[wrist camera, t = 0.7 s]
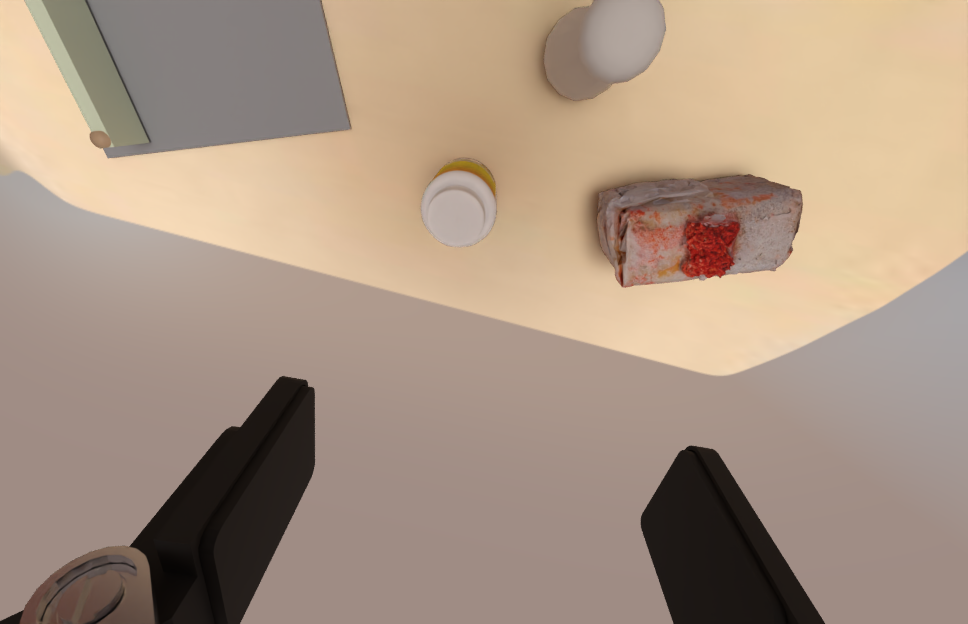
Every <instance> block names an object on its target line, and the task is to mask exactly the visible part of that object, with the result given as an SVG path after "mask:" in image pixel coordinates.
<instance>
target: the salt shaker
mask: <svg viewBox="0 0 968 624" xmlns="http://www.w3.org/2000/svg"><path fill="white" fill-rule="evenodd" d="M665 31H666V24H665V16H664V8H663V6H662V4H661V3H660V1H659V0H594V1H593V2H592V4H591V6H588V7H578V8H574V9H573V10H572V11H570V12H569V13H567V14H566V15H565V16H563V17H562V18H561V19H559V20H558V22H557V23H556V25H555V26H554V28H553V30H552V31H551V33H550V34H549V36H548V37H547V40H546V47H545V54H544V65H545V70H546V75H547V80H548V81H549V82H550V83H551V85H552V86H553V87H554V88H555V90H556V91H557V92H558V93H559V94H560V95H563V96H565V97H567V98H569V99H571V100H574V101H577V100H586V99H592V98H594V97H596V96H597V95H599V94H600V93H602V92H604V91H605V90H607V89H608V88H609V87H610V86H611V85H612V84H613V83H621V82H628V81H629V80H631V79H632V78H634V77H636V76H637V75H639V74H641V73H642V72H644V71H645V70H646V69H647V68H648V67H649V65H650V64H651V62H652V61H653V60H654V58H655V57H656V55H657V54H658V53H659V51H660V48H661V45H662V41H663V38H664V34H665Z"/></svg>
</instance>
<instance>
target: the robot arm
mask: <svg viewBox="0 0 968 624" xmlns="http://www.w3.org/2000/svg"><path fill="white" fill-rule="evenodd" d="M314 465H315V393H314V388H313V387H308V382H307V381H306V380H303V379H297V378H291V377H285V376H282V377H280V378H279V379H278V380H277V381H276V382H275V384H274V385H273V386H272V387H271V389H270V390H269V391H268V393H267V394H266V395H265V397H264V398H263V399H262V400H261V401H260V403H259V404H258V405H257V407H256V408H255V409H254V411H253V412H252V413H251V414H250V416H249V417H248V418H247V419H246V421H245V422H244V423H243V425H242V426H241V427H233V426H232V427H230V428H228V429H226V430H225V431H224V432H223V433H222V434H221V436H220V437H219V438H218V439H217V440H216V441H215V443H214V444H213V445H212V446H211V448H210V449H209V450H208V451H207V452H206V454H205V455H204V456H203V457H202V459H201V460H200V461H199V462H198V463H197V465H196V466H195V467H194V468H193V470H192V471H191V472H190V473H189V475H188V476H187V477H186V478H185V479H184V481H183V482H182V483H181V484H180V485H179V487H178V488H177V489H176V490H175V492H174V493H173V494H172V495H171V496H170V498H169V499H168V500H167V501H166V502H165V504H164V505H163V506H162V507H161V509H160V510H159V511H158V512H157V513H156V515H155V516H154V517H153V518H152V520H151V521H150V522H149V523H148V524H147V526H146V527H145V528H144V529H143V531H142V532H141V533H140V534H139V535H138V537H137V538H136V539H135V540H134V542H133V543H132V544H131V545H130V546H129V547H128V546H112V547H106V548H102V549H98V550H95V551H91V552H89V553H87V554H85V555H83V556H80V557H78V558H76V559H74V560H72V561H70V562H69V563H67V564H66V565H64V566H63V567H62V568H60V569H59V570H57V571H56V572H54V573H53V574H52V575H51V576H50V577H49V578H48V579H47V580H46V581H45V582H44V583H43V584H41V585H40V587H38V588H37V589H36V591H35V592H34V594H33V595H32V597H31V598H30V600H29V601H28V603H27V604H26V605H25V608H24V610H23V611H21V612H19V613H17V614H14V615H12V616H10V617H8V618H6V619H4V620H2V621H0V624H240V622H241V620H242V618H243V616H244V614H245V612H246V610H247V608H248V606H249V604H250V602H251V600H252V598H253V596H254V594H255V592H256V590H257V588H258V586H259V584H260V582H261V579H262V577H263V575H264V573H265V571H266V569H267V567H268V565H269V563H270V561H271V559H272V557H273V555H274V553H275V551H276V548H277V546H278V545H279V542H280V541H281V538H282V536H283V534H284V532H285V530H286V528H287V526H288V524H289V522H290V520H291V518H292V516H293V514H294V512H295V510H296V508H297V506H298V503H299V502H300V500H301V497H302V495H303V493H304V491H305V489H306V487H307V485H308V483H309V481H310V479H311V477H312V474H313V470H314ZM641 528H642V531H643V535H644V538H645V541H646V544H647V547H648V549H649V553H650V555H651V558H652V561H653V564H654V567H655V570H656V573H657V576H658V579H659V582H660V585H661V588H662V591H663V594H664V597H665V600H666V602H667V606H668V609H669V612H670V614H671V617H672V620H673V623H674V624H825V623H824V621H823V619H822V618H821V616H820V615H819V613H818V611H817V610H816V608H815V607H814V605H813V604H812V602H811V601H810V599H809V597H808V596H807V594H806V592H805V591H804V589H803V588H802V586H801V585H800V583H799V581H798V580H797V578H796V577H795V575H794V573H793V572H792V570H791V569H790V567H789V565H788V564H787V562H786V561H785V559H784V557H783V556H782V554H781V553H780V551H779V549H778V548H777V546H776V545H775V543H774V542H773V540H772V538H771V537H770V535H769V534H768V532H767V530H766V529H765V527H764V526H763V524H762V522H761V521H760V519H759V518H758V516H757V514H756V513H755V511H754V510H753V508H752V506H751V505H750V503H749V502H748V500H747V499H746V497H745V495H744V494H743V492H742V491H741V489H740V487H739V486H738V484H737V483H736V481H735V479H734V478H733V476H732V475H731V473H730V471H729V470H728V468H727V467H726V465H725V464H724V462H723V460H722V459H721V457H720V456H719V454H718V453H717V452H716V451H715V450H713V449H709V448H703V447H697V446H688V447H687V448H686V449H685V450H682V451H680V452H679V454H678V455H677V457H676V459H675V460H674V462H673V464H672V465H671V467H670V469H669V470H668V472H667V474H666V475H665V477H664V479H663V480H662V482H661V484H660V485H659V487H658V489H657V490H656V492H655V494H654V495H653V497H652V499H651V500H650V502H649V504H648V505H647V507H646V509H645V510H644V512H643V514H642V516H641Z"/></svg>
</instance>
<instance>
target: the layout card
mask: <svg viewBox="0 0 968 624" xmlns="http://www.w3.org/2000/svg"><path fill="white" fill-rule="evenodd" d="M85 2H86V4H87V6H88V8H89V10H90V13H91V15H92V17H93V19H94V21H95V24H96V26H97V28H98V30H99V32H100V35H101V37H102V39H103V41H104V43H105V46H106V48H107V50H108V52H109V54H110V57H111V59H112V61H113V63H114V65H115V68H116V70H117V72H118V74H119V76H120V79H121V81H122V83H123V85H124V87H125V90H126V92H127V94H128V96H129V98H130V101H131V103H132V105H133V107H134V109H135V112H136V114H137V116H138V118H139V120H140V123H141V125H142V127H143V129H144V131H145V134H146V136H147V138H148V140H149V142H150V143H144V144H135V145H126V146H118V147H109V148H103V149H104V151H105V153H106V155H107V157H108V158H113V157H122V156H130V155H139V154H147V153H155V152H164V151H172V150H180V149H189V148H197V147H206V146H214V145H222V144H231V143H239V142H247V141H256V140H264V139H273V138H281V137H289V136H298V135H306V134H314V133H323V132H331V131H340V130H348V129H351V125H350V121H349V117H348V113H347V108H346V104H345V100H344V96H343V92H342V87H341V83H340V79H339V75H338V70H337V66H336V62H335V58H334V54H333V49H332V45H331V41H330V37H329V32H328V28H327V24H326V20H325V16H324V11H323V7H322V3H321V0H85Z"/></svg>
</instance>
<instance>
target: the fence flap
mask: <svg viewBox="0 0 968 624" xmlns="http://www.w3.org/2000/svg"><path fill="white" fill-rule="evenodd" d="M24 1H25V3H26V5H27V7H28V9H29V11H30V13H31V15H32V17H33V19H34V21H35V23H36V24H37V26H38V28H39V30H40V32H41V34H42V36H43V38H44V40H45V42H46V44H47V46H48V48H49V50H50V52H51V54H52V56H53V58H54V60H55V62H56V64H57V66H58V68H59V70H60V71H61V73H62V75H63V77H64V79H65V81H66V83H67V85H68V87H69V89H70V91H71V93H72V95H73V97H74V99H75V101H76V103H77V105H78V107H79V109H80V111H81V113H82V115H83V117H84V118H85V120H86V122H87V124H88V126H89V128H90V130H91V133H90V140H91V142H92V143H93V144H94V145H95V146H96V147H98V148H109V147H118V146H126V145H135V144H144V143H150V142H149V140H148V138H147V136H146V134H145V131H144V129H143V127H142V125H141V123H140V120H139V118H138V116H137V114H136V112H135V109H134V107H133V105H132V103H131V101H130V98H129V96H128V94H127V92H126V90H125V87H124V85H123V83H122V81H121V79H120V76H119V74H118V72H117V70H116V68H115V65H114V63H113V61H112V59H111V57H110V54H109V52H108V50H107V48H106V46H105V43H104V41H103V39H102V37H101V35H100V32H99V30H98V28H97V26H96V24H95V21H94V19H93V17H92V15H91V13H90V10H89V8H88V6H87V4H86V2H85V0H24Z"/></svg>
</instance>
